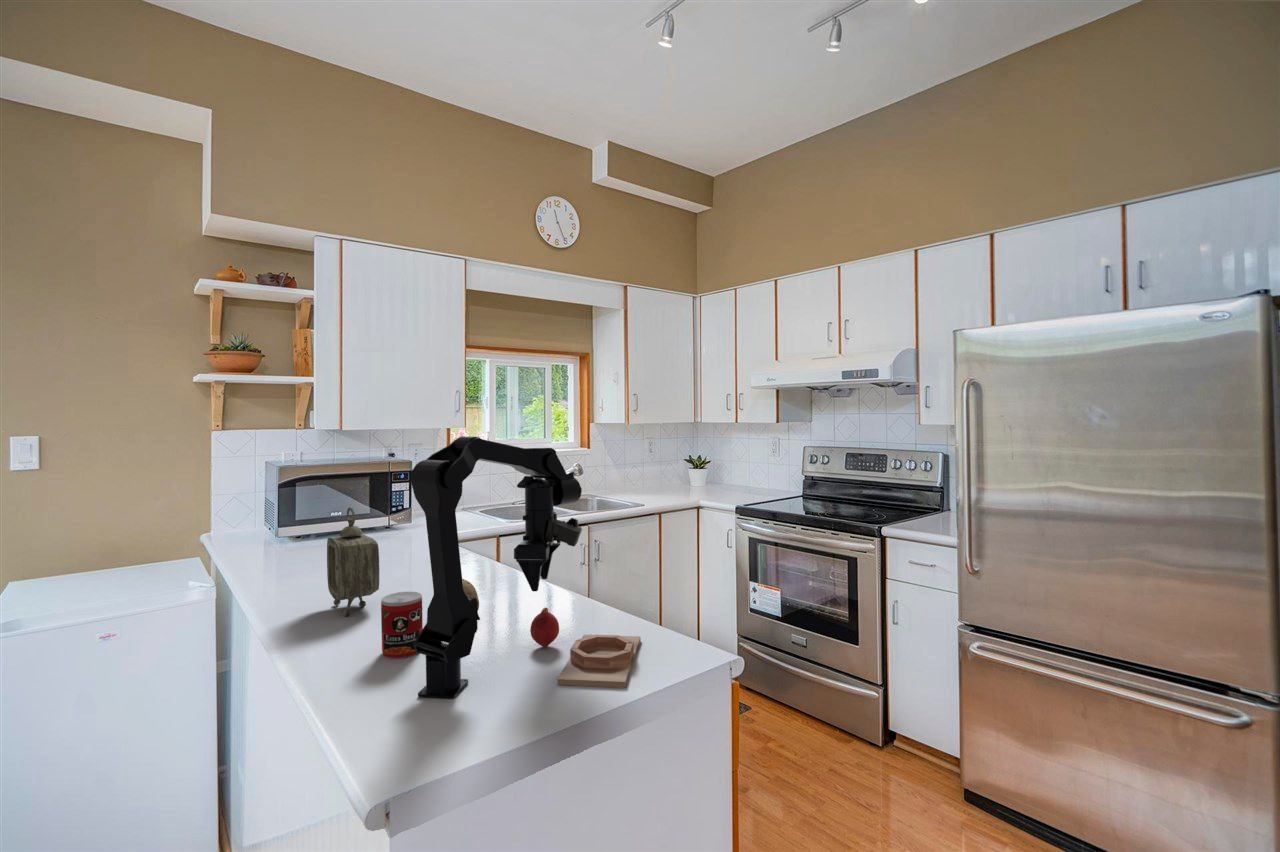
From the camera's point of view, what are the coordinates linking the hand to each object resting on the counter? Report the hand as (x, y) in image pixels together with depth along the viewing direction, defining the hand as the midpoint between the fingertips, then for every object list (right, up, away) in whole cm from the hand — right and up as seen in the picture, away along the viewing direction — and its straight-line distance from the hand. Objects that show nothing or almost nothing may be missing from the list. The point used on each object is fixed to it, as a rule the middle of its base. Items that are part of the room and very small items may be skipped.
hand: (539, 584), depth 126 cm
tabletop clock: (-50, -13, +26) cm, 58 cm away
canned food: (-27, -13, -2) cm, 30 cm away
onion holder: (+13, -13, -8) cm, 20 cm away
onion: (+1, -13, -1) cm, 13 cm away
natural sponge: (-21, -13, +15) cm, 29 cm away
